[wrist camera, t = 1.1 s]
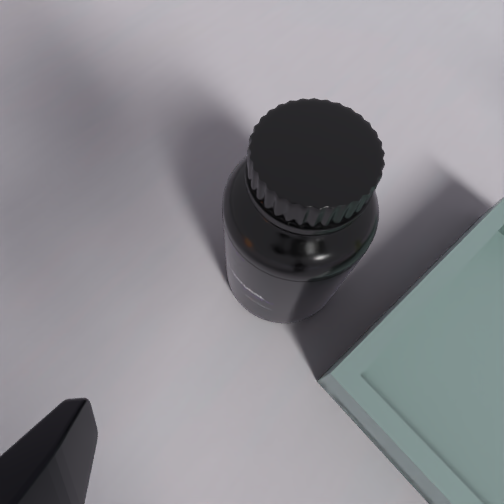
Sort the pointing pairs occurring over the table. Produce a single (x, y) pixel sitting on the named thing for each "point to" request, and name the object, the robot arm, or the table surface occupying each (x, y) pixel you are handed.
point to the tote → (438, 373)
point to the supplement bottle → (300, 208)
